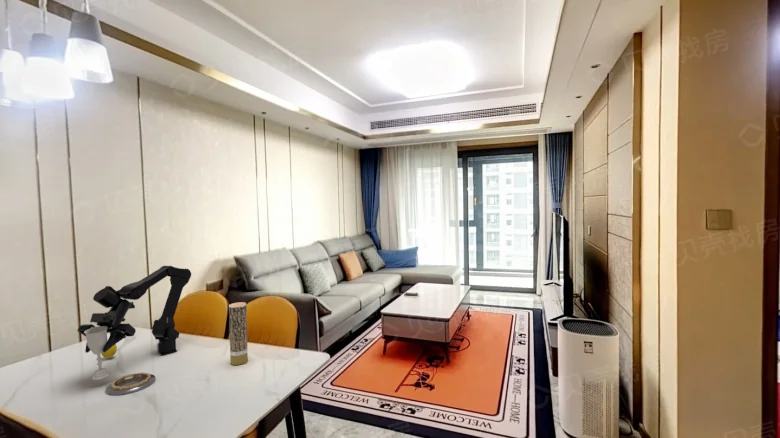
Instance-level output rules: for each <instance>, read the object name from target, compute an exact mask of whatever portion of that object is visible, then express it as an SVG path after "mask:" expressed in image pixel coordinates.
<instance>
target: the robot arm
mask: <svg viewBox="0 0 780 438" xmlns="http://www.w3.org/2000/svg"><path fill="white" fill-rule="evenodd" d="M166 277H169V281H170V285H171V286H170V290H169V292H168V294H167V299H166V301H165V304H164V307H163V310H162V313H161V316H160V317H159V318H158V319H154V321H153V324H152V326H151V334H152V335H153V336H154V338H155V339H154V340H156V341H157V340H158V342H157V344H156V349H157V353H158V354H159V355H160V356H164V355H168V354H172V353H175V352H178V349H177V339H178V338H179V337H180V332H179V331H178V330H176V329H175V327H176V323H175V319H174V318H175V314H176V311H177V308H178V305H179V301H180V298H181V295H182V292H183V289H184V287H185V286H186V285H187V284H188V283H189V281H190V280H191V277H192V272H191V270H190V269H189V268H180V267H175V266H172V265H163V266H160V268H158V269H156V270H155V271H153V272H151V273H150V274H148V275H147V276H145V277H143V278H141V280H138V281H135V282H131V283H129V284H126V285H124V286H122V287H121V288H120V289H117V290H115V289H114V288H113V286H110V285H106V286H105V287H103V288H102V289H100V290H98V291H97V292H96V293H95V294H94V296H93V299H92V300H93V301H95V302H96V303H98V304H99V305H101V306H102V307H104V308H106V309H109V310H108V311H107V312H104V313H102V312H94V313H92V314H91V318H90V319H89V320H90V321H89V324H87V323H86V324H81V325H79V327H78V329H77V330H76V331H77V333H78V332H79V333H80V334H81V335H83V336H84V337H86V334H85V333H84V331H86V330H88V329H90V328H94V327H96V326H95V325H94V324H92V323H95V324H96V325H97V327H99V326H107V327H108V328H107V334H108V333H109V337H108V338H107V343H106V344H105V346H104V349H103V352H106V351H107V350H109V349H110V348H111V347H112V346H114V345H115V344H116V345H117V344H118V343H119V342H120V341H122V340H124V339H126V338H127V337H134V336H135V334H136V328H135V327H134V326H133V325H131V324H130V323H122V322H126V318H125V316H126V314H127V312H128V311H129V310H130V309H135V308H136V305H135V304H134V301H136V300H140V299H141V298H142V297H143V296H144V295H145V294H146V293H147V291H148V290H149V289H150V288H151V287H153V286H154V285H156V284H157V283H159V282H160V281H162V280H164V279H165V278H166ZM130 300H131V301H130ZM132 300H133V301H132ZM90 323H91V324H90ZM84 352H85V353H87V354H88V353H89V352H91V350H90V349H89V347H88V345H87V342H86V343H85V350H84Z"/></svg>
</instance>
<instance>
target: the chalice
mask: <svg viewBox="0 0 780 438" xmlns="http://www.w3.org/2000/svg"><path fill="white" fill-rule="evenodd" d="M107 328H108V327H107V326H95V327H94V328H90V329H88V330H86V331H84V333H85V334H86V343H87V345H88V347H89V349H90V352H92V354H94V355H96V356H97V357H96V361H97V363H96V365H97V369H96V370H95V371H94V373H93V375H92V378H91V379H92V380H101V379H104V378H107V377H108V376H109V375H110V372H109V371H108V369H107V368H106V367H103V366H102V365H103V362H102V359H103V357H102V354H101V353H102V352H103V349H104V346H105V344H106V343H107V341H108V333H107Z"/></svg>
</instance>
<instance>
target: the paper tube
mask: <svg viewBox="0 0 780 438" xmlns="http://www.w3.org/2000/svg"><path fill="white" fill-rule="evenodd" d="M247 313H248V312H247V302H245V301H244V302H243V301H241V302H239V301H238V302H233V303H230V304H229V305H228V314H229V315H228V317H229V320H228V321H229V352H230V353H229V355H230V357H229V358H230V364H231V365H233V366H241V365H243V364H244V365H245V363H247V362H248V359H249V357H248V354H249V353H248V350H249V349H248V321H247V320H248V317H247V316H248V314H247Z"/></svg>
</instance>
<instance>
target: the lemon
mask: <svg viewBox="0 0 780 438" xmlns="http://www.w3.org/2000/svg"><path fill="white" fill-rule="evenodd" d="M117 348H118V346H117V343H116V344H115V345H114V346H112V347H111V348H110V349H109V350H107V351H106V352H102V353H101V354H100V355H101V357H102V358H105V359H108V360H109V359H111V358H112V357H114V356H115V355H116V353H117V350H118V349H117Z"/></svg>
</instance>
